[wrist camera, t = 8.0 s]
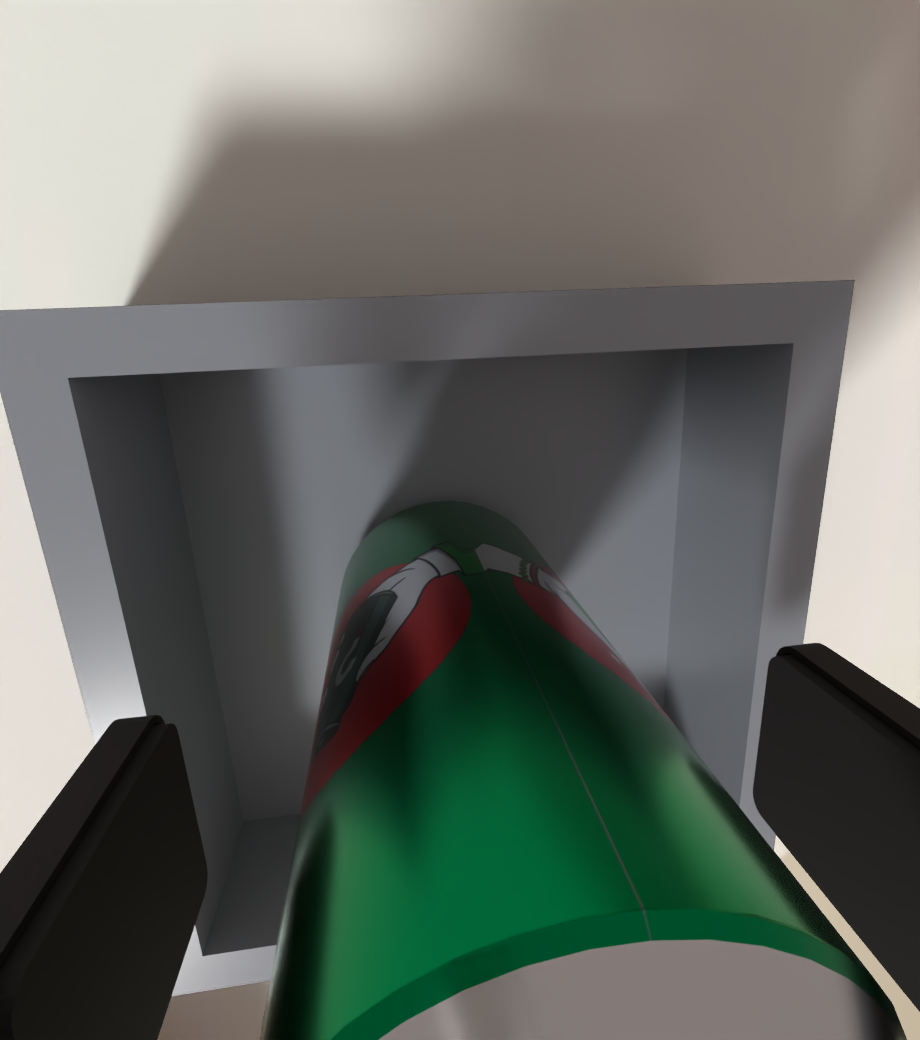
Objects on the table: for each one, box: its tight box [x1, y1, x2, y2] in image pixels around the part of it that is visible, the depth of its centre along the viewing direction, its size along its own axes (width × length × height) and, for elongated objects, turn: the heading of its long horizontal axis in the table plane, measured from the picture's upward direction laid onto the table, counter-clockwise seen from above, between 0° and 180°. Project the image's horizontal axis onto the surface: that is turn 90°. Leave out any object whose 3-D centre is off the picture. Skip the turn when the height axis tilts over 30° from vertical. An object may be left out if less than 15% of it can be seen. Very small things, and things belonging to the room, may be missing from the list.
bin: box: [0, 280, 855, 996], centre depth 13 cm, size 14×14×4 cm
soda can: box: [260, 501, 907, 1040], centre depth 9 cm, size 5×5×12 cm
